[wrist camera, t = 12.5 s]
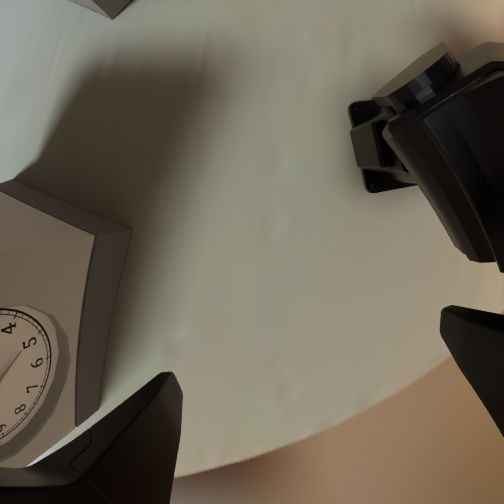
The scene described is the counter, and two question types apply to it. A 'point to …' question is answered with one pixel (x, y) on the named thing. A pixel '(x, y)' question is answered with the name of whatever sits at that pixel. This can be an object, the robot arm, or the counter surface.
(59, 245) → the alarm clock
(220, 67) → the counter surface
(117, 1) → the tub
